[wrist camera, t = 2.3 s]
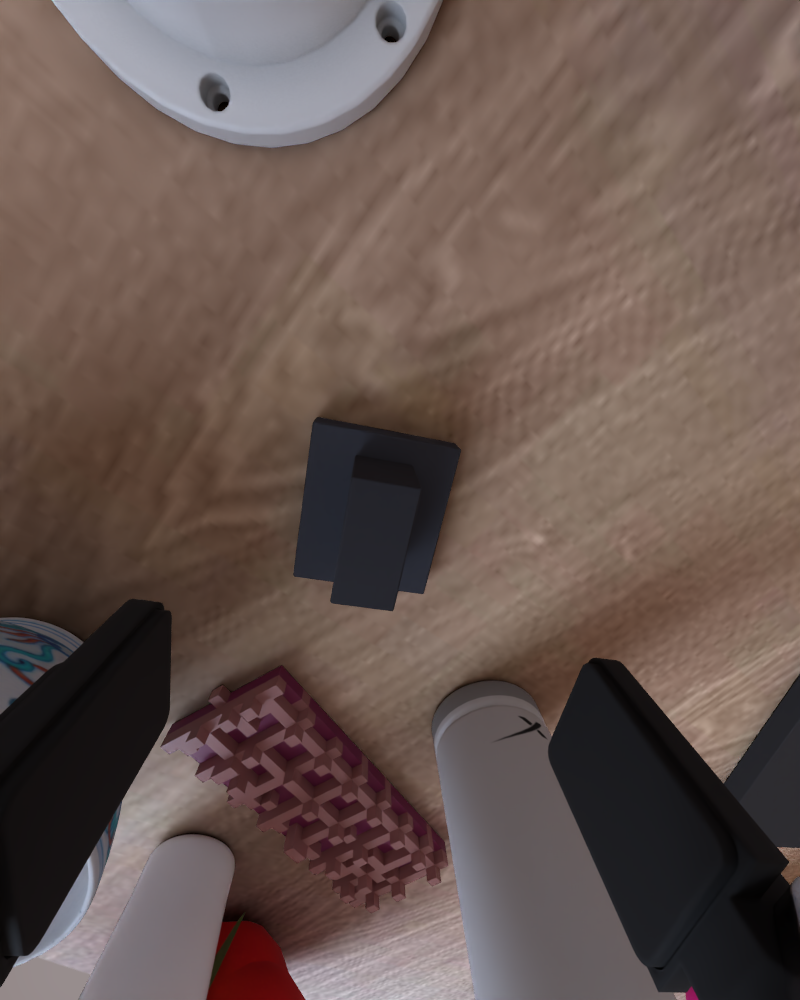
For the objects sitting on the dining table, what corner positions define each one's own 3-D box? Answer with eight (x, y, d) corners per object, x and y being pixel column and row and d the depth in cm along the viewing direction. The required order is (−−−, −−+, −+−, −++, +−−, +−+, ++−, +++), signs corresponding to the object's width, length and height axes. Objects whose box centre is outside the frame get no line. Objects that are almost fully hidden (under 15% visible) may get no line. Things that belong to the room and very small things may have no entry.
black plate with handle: (316, 416, 16) (299, 435, 12) (455, 443, 17) (481, 469, 13) (297, 563, 18) (277, 620, 14) (420, 580, 19) (433, 639, 15)
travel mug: (512, 656, 21) (1570, 2905, 2) (550, 732, 23) (1259, 2215, 5) (410, 701, 22) (646, 2786, 3) (456, 771, 24) (757, 2224, 5)
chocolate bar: (274, 657, 20) (264, 687, 18) (444, 842, 26) (450, 878, 25) (163, 717, 21) (144, 751, 19) (354, 882, 27) (353, 920, 25)
